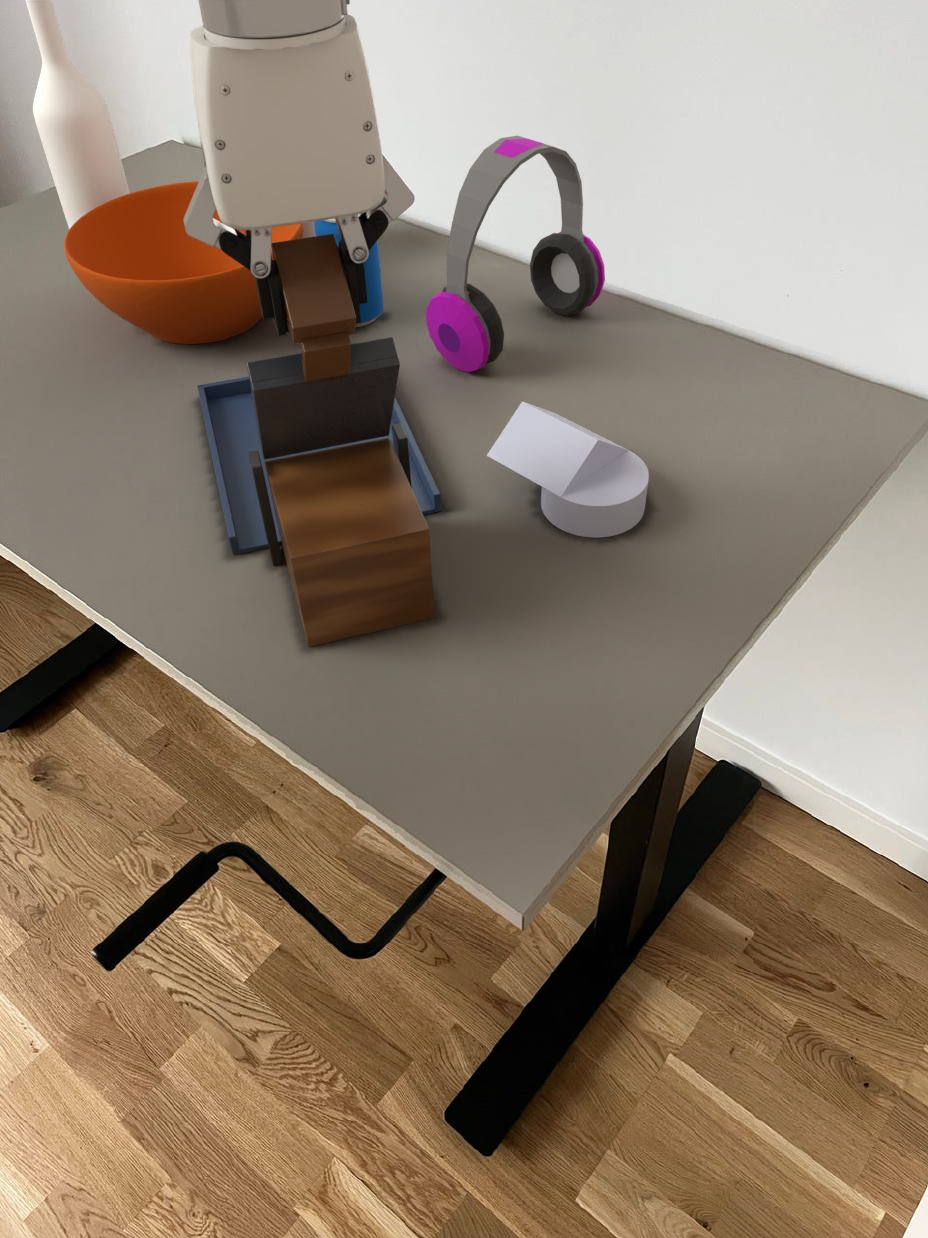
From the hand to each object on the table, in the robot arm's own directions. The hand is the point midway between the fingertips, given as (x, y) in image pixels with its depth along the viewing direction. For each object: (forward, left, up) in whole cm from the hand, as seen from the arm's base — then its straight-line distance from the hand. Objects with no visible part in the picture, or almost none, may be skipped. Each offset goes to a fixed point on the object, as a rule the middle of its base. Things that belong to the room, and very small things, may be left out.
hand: (315, 317), depth 65 cm
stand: (0, -1, -23) cm, 23 cm away
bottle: (-26, +64, -23) cm, 73 cm away
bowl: (-14, +47, -23) cm, 54 cm away
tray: (-2, +17, -23) cm, 28 cm away
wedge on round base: (+20, +7, -23) cm, 31 cm away
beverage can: (+3, +43, -23) cm, 49 cm away
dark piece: (0, 0, -6) cm, 6 cm away
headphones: (+20, +35, -23) cm, 46 cm away
